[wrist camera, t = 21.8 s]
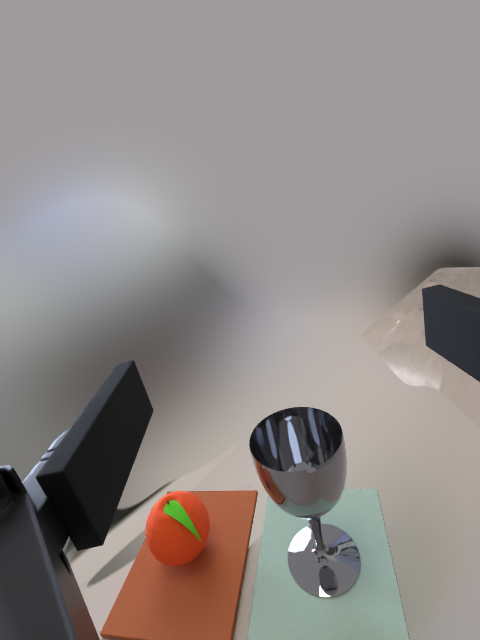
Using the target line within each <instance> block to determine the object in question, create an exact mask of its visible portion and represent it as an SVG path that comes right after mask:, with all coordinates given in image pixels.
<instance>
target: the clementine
mask: <svg viewBox="0 0 480 640" xmlns="http://www.w3.org/2000/svg"><path fill="white" fill-rule="evenodd" d="M209 528H210V521H209V515H208V511H207V509H206V507H205V505H204V504H203V502H202V501H201V500H200V499H199V498H198V497H197V496H195V495H194V494H192V493H190V492H184V491H176V492H172V493H169V494H167V495H165V496H164V497H162V498H161V499H160V500H159V501H158V502H157V503H156V504H155V505H154V507H153V508H152V510H151V512H150V514H149V517H148V519H147V523H146V534H145V536H146V541H147V545H148V548H149V550H150V551H151V553H152V554H153V556H154V557H155V558H156V559H157V560H158V561H160V562H161V563H163V564H165V565H169V566H180V565H183V564H186V563H188V562H190V561H191V560H193V559H194V558H195V557H196V556H197V555H198V554H199V553H200V552H201V550H202V549H203V547H204V546H205V544H206V542H207V539H208V534H209Z"/></svg>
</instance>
